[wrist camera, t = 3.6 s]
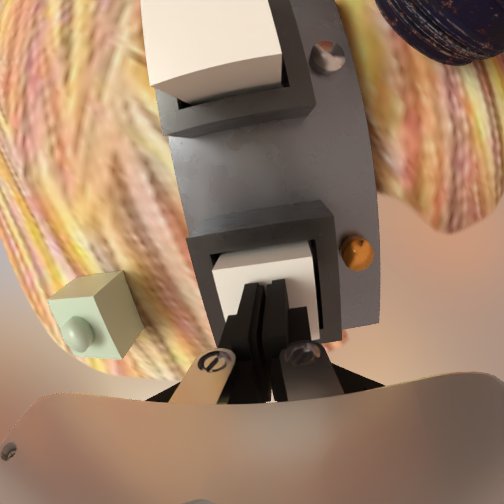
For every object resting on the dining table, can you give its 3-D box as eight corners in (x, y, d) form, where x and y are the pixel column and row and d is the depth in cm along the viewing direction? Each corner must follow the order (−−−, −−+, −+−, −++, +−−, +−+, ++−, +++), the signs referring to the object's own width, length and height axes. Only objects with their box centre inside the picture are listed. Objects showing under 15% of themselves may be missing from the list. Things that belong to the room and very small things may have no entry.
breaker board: (161, 30, 14) (120, -5, 8) (324, 0, 12) (339, -49, 7) (224, 327, 21) (207, 383, 15) (371, 308, 19) (397, 360, 14)
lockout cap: (77, 276, 21) (37, 307, 16) (123, 269, 20) (83, 305, 15) (99, 327, 23) (67, 364, 17) (144, 326, 22) (115, 369, 17)
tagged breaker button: (231, 234, 16) (211, 270, 11) (302, 224, 16) (312, 256, 11) (244, 297, 17) (232, 348, 13) (310, 288, 17) (319, 338, 12)
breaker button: (182, 37, 11) (139, -6, 6) (264, 18, 10) (255, -39, 5) (195, 107, 12) (150, 85, 7) (280, 89, 11) (281, 53, 7)
